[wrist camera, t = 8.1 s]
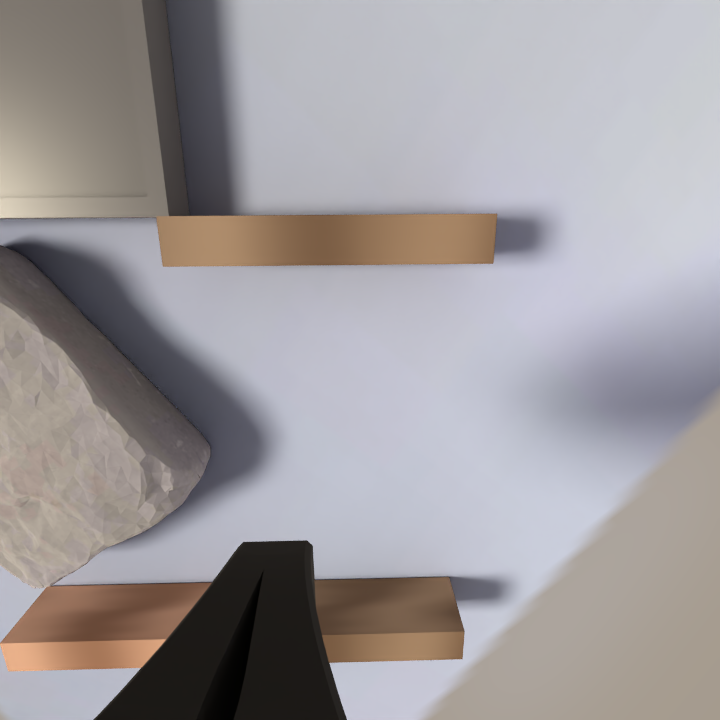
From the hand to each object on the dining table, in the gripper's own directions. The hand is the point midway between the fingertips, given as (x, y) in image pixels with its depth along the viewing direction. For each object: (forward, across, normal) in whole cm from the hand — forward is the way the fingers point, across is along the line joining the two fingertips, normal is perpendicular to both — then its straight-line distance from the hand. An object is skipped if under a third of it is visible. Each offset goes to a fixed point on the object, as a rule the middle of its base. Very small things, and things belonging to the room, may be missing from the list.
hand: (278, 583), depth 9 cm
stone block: (+11, +11, +1) cm, 16 cm away
